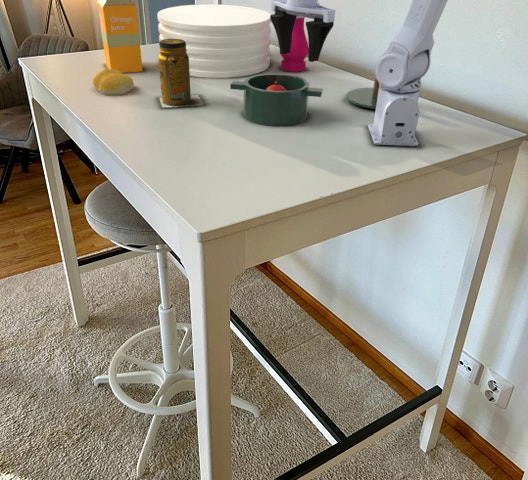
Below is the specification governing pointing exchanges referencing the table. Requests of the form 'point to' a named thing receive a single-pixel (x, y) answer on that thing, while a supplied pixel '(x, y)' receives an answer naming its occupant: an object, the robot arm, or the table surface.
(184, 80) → the condiment
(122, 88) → the bread roll
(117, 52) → the orange juice
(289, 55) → the pepper mill
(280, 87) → the apple
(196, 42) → the plate stack
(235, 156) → the table surface
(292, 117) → the pot
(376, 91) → the lid
